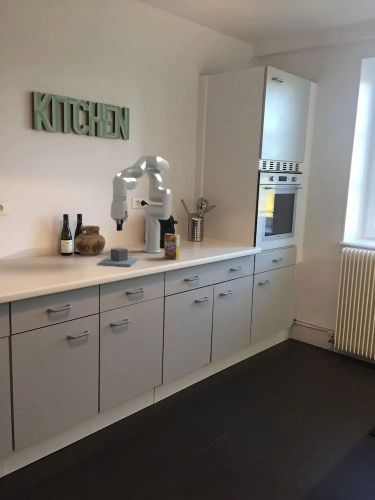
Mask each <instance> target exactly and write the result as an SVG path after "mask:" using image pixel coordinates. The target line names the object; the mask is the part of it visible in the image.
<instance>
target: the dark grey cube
mask: <svg viewBox="0 0 375 500" xmlns="http://www.w3.org/2000/svg"><path fill="white" fill-rule="evenodd" d="M110 256H111V260H114V261H118V262H120V261H125V260H128V257H129V249H128V248H126V247H125V248H124V247H113V248H110Z"/></svg>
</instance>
